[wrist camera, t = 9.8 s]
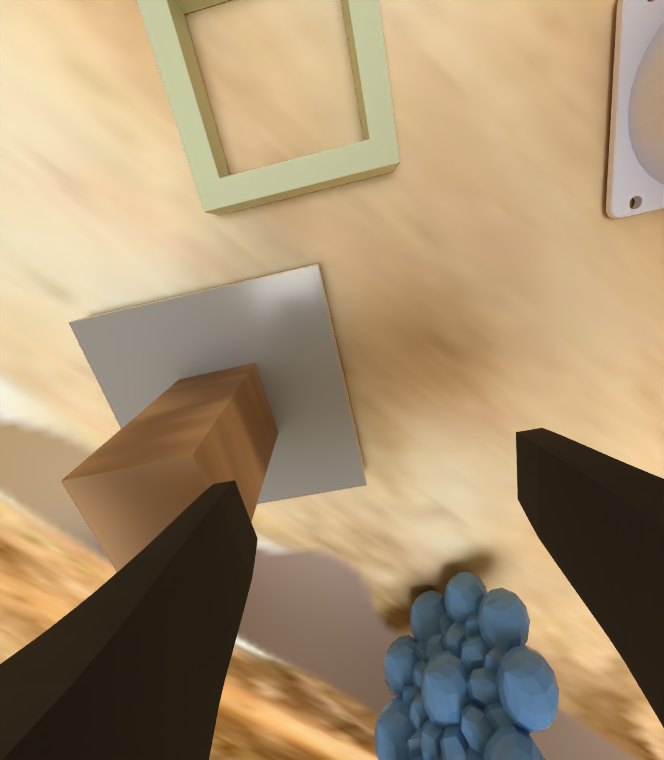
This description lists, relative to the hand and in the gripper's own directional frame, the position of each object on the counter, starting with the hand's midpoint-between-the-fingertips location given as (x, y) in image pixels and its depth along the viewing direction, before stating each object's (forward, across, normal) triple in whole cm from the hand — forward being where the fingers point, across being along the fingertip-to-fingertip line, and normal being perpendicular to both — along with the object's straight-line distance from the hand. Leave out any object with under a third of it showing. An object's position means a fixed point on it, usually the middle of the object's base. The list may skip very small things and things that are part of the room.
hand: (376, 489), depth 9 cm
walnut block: (+9, +7, 0) cm, 11 cm away
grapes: (+10, -2, +19) cm, 22 cm away
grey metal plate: (+10, +7, +1) cm, 12 cm away
